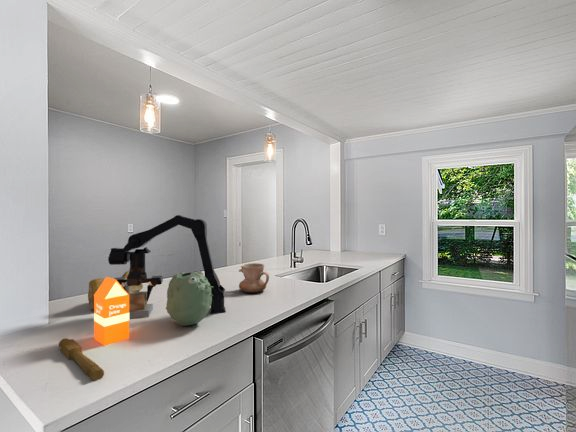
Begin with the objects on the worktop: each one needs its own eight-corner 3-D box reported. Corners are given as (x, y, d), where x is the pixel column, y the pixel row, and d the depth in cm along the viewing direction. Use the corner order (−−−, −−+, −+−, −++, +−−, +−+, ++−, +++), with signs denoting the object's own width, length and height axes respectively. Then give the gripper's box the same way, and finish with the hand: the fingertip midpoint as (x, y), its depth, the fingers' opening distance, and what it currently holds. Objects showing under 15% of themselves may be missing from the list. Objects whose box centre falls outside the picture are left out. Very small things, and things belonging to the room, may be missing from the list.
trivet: (148, 316, 123) (148, 310, 123) (121, 319, 120) (121, 312, 120) (152, 309, 132) (152, 303, 132) (127, 311, 130) (127, 305, 130)
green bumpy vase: (183, 314, 125) (183, 266, 125) (222, 321, 118) (222, 269, 118) (153, 328, 111) (153, 272, 110) (195, 336, 103) (195, 277, 103)
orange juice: (118, 331, 107) (118, 274, 107) (129, 338, 101) (129, 278, 101) (93, 338, 101) (93, 278, 101) (103, 346, 95) (103, 282, 95)
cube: (147, 305, 130) (147, 291, 130) (144, 309, 124) (144, 294, 124) (131, 306, 128) (131, 292, 128) (127, 310, 122) (127, 295, 122)
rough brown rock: (127, 297, 154) (125, 268, 154) (147, 299, 145) (145, 268, 146) (76, 311, 134) (73, 277, 134) (96, 314, 126) (93, 278, 126)
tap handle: (91, 371, 75) (57, 338, 94) (91, 383, 75) (57, 348, 94) (104, 366, 77) (69, 335, 96) (104, 378, 77) (69, 345, 96)
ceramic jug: (231, 292, 161) (231, 265, 161) (246, 286, 174) (246, 261, 174) (261, 297, 154) (261, 269, 153) (274, 290, 167) (274, 264, 167)
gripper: (106, 268, 116) (106, 309, 116) (159, 266, 121) (159, 305, 121) (114, 263, 127) (114, 301, 127) (162, 262, 131) (163, 298, 131)
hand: (137, 301), depth 126 cm, fingers open, 7 cm apart
